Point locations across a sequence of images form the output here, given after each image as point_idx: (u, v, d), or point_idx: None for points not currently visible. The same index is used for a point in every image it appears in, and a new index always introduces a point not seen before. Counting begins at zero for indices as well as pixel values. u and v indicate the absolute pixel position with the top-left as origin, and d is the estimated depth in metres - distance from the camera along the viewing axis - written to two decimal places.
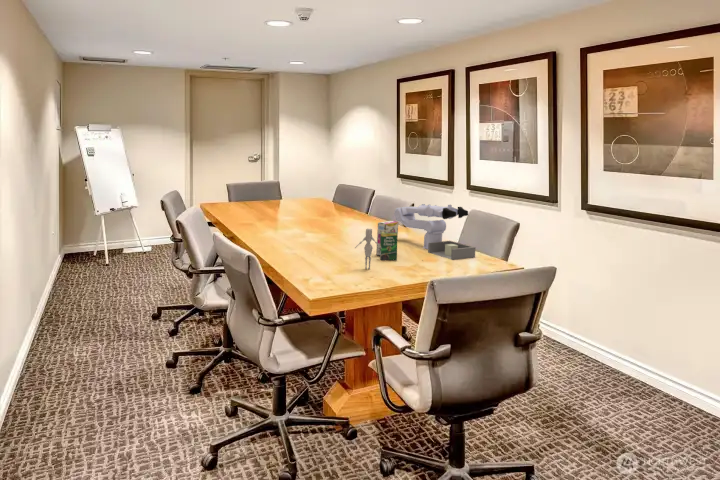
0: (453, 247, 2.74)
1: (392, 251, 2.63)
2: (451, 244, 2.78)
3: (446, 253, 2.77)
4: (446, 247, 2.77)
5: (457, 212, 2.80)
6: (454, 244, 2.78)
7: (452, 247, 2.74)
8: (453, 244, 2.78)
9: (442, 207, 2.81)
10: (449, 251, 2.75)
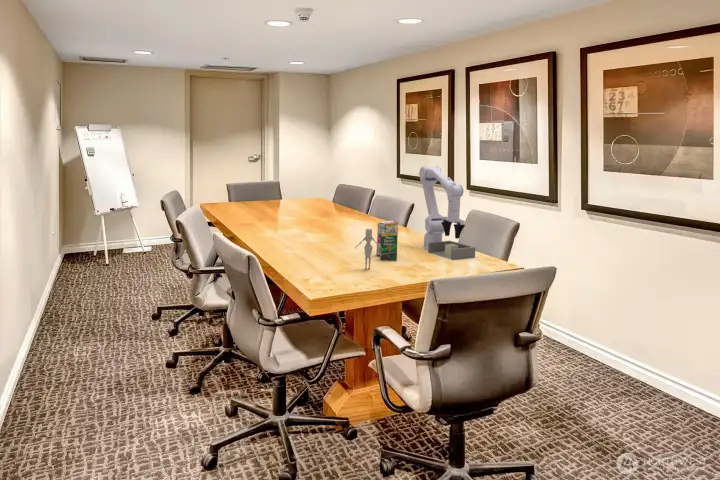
0: (453, 247, 2.74)
1: (392, 251, 2.63)
2: (451, 244, 2.78)
3: (446, 253, 2.77)
4: (446, 247, 2.77)
5: None
6: (454, 244, 2.78)
7: (452, 247, 2.74)
8: (453, 244, 2.78)
9: None
10: (449, 251, 2.75)
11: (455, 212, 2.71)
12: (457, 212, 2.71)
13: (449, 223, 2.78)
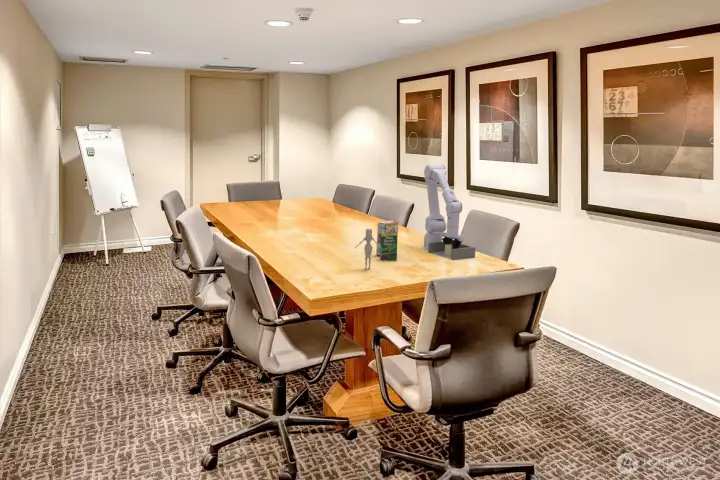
0: None
1: (392, 251, 2.63)
2: (451, 244, 2.78)
3: (446, 253, 2.77)
4: (446, 247, 2.77)
5: None
6: None
7: None
8: None
9: (447, 227, 2.75)
10: (449, 251, 2.75)
11: (454, 228, 2.72)
12: (456, 228, 2.73)
13: (450, 239, 2.79)
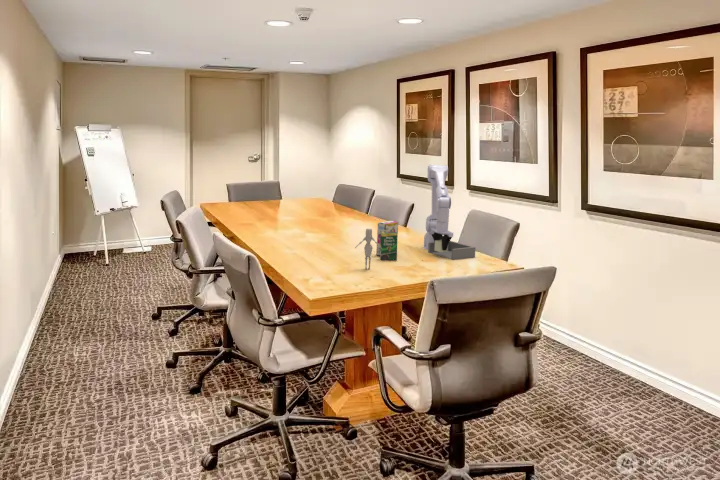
0: None
1: (392, 251, 2.63)
2: (441, 240, 2.74)
3: (436, 249, 2.73)
4: (436, 243, 2.73)
5: None
6: None
7: None
8: None
9: (436, 223, 2.71)
10: (439, 247, 2.71)
11: (444, 224, 2.68)
12: (446, 224, 2.69)
13: (440, 235, 2.75)
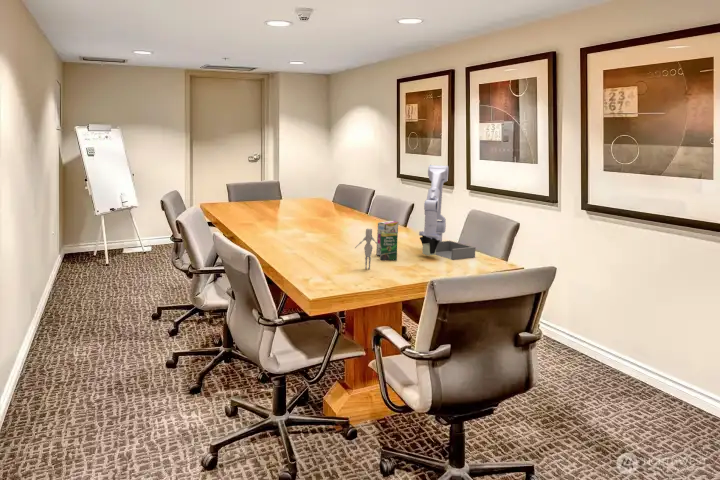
0: None
1: (392, 251, 2.63)
2: None
3: (424, 252, 2.69)
4: (424, 246, 2.69)
5: None
6: None
7: None
8: None
9: (424, 226, 2.67)
10: (427, 250, 2.67)
11: (432, 227, 2.65)
12: (434, 227, 2.65)
13: (428, 238, 2.71)
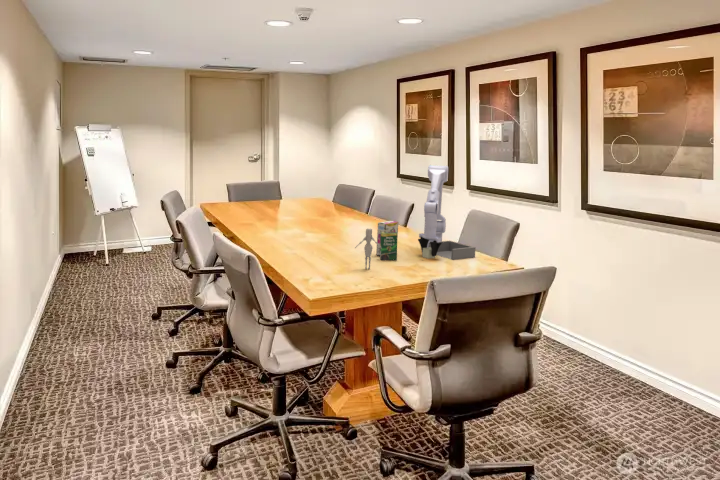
0: (430, 251, 2.67)
1: (392, 251, 2.63)
2: (429, 248, 2.71)
3: None
4: (423, 251, 2.70)
5: None
6: None
7: (429, 251, 2.67)
8: None
9: (424, 228, 2.68)
10: (426, 255, 2.68)
11: (431, 229, 2.65)
12: (434, 229, 2.65)
13: (426, 240, 2.72)
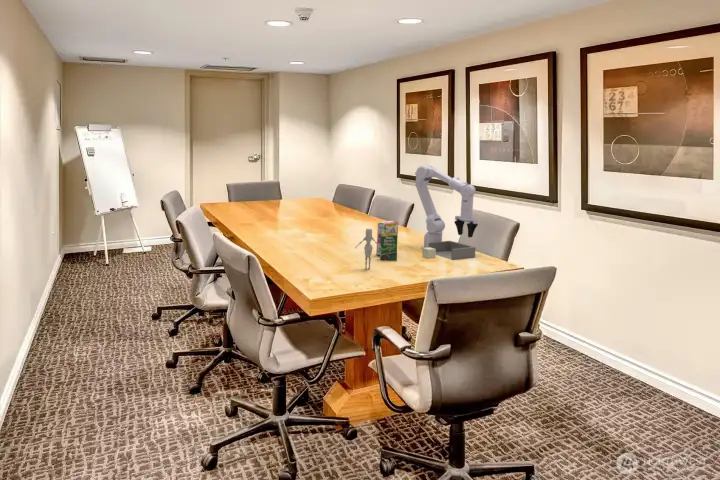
0: (430, 251, 2.67)
1: (392, 251, 2.63)
2: (429, 248, 2.71)
3: None
4: (423, 251, 2.70)
5: None
6: (432, 248, 2.71)
7: (429, 251, 2.67)
8: (431, 248, 2.71)
9: (461, 210, 2.78)
10: (426, 255, 2.68)
11: (468, 211, 2.76)
12: (470, 211, 2.76)
13: (462, 222, 2.83)
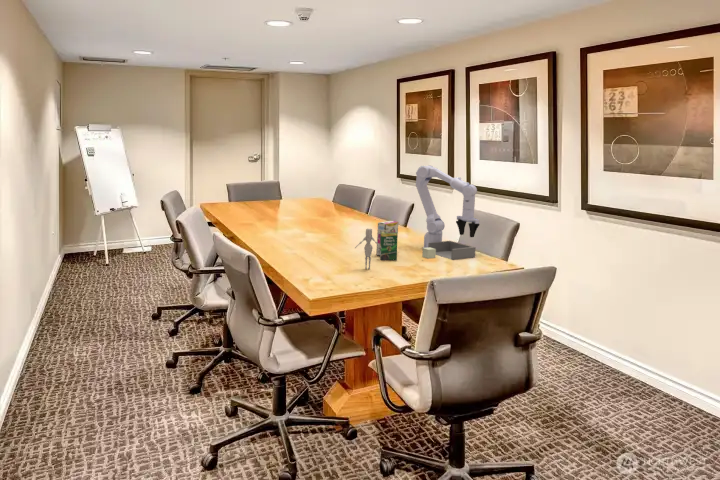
0: (430, 251, 2.67)
1: (392, 251, 2.63)
2: (429, 248, 2.71)
3: None
4: (423, 251, 2.70)
5: None
6: (432, 248, 2.71)
7: (429, 251, 2.67)
8: (431, 248, 2.71)
9: None
10: (426, 255, 2.68)
11: (470, 211, 2.76)
12: (472, 211, 2.77)
13: (463, 222, 2.84)
